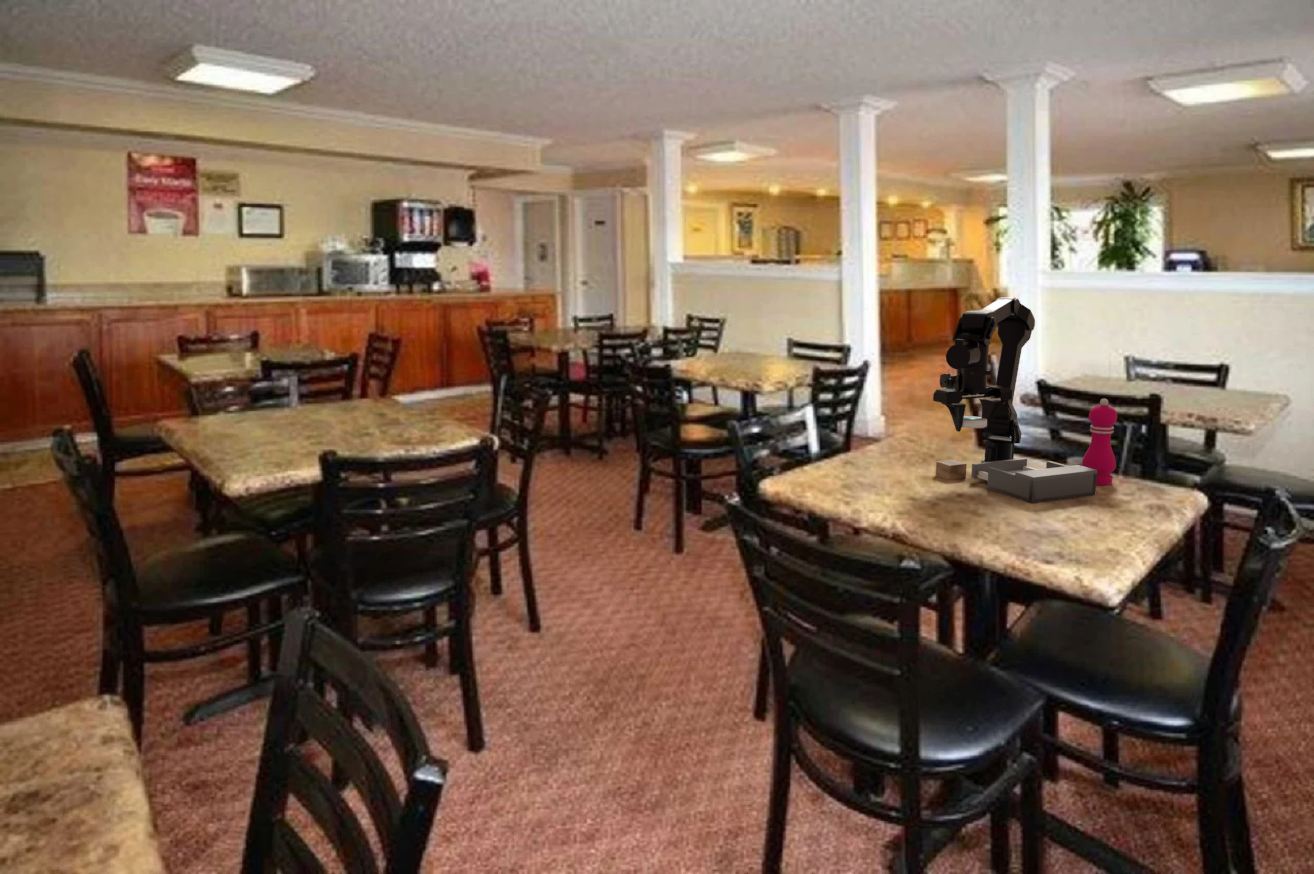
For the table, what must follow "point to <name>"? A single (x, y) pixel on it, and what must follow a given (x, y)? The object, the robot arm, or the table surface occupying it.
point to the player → (1045, 482)
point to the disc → (974, 422)
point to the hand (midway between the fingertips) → (971, 430)
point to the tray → (999, 467)
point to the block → (951, 469)
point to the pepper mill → (1101, 443)
